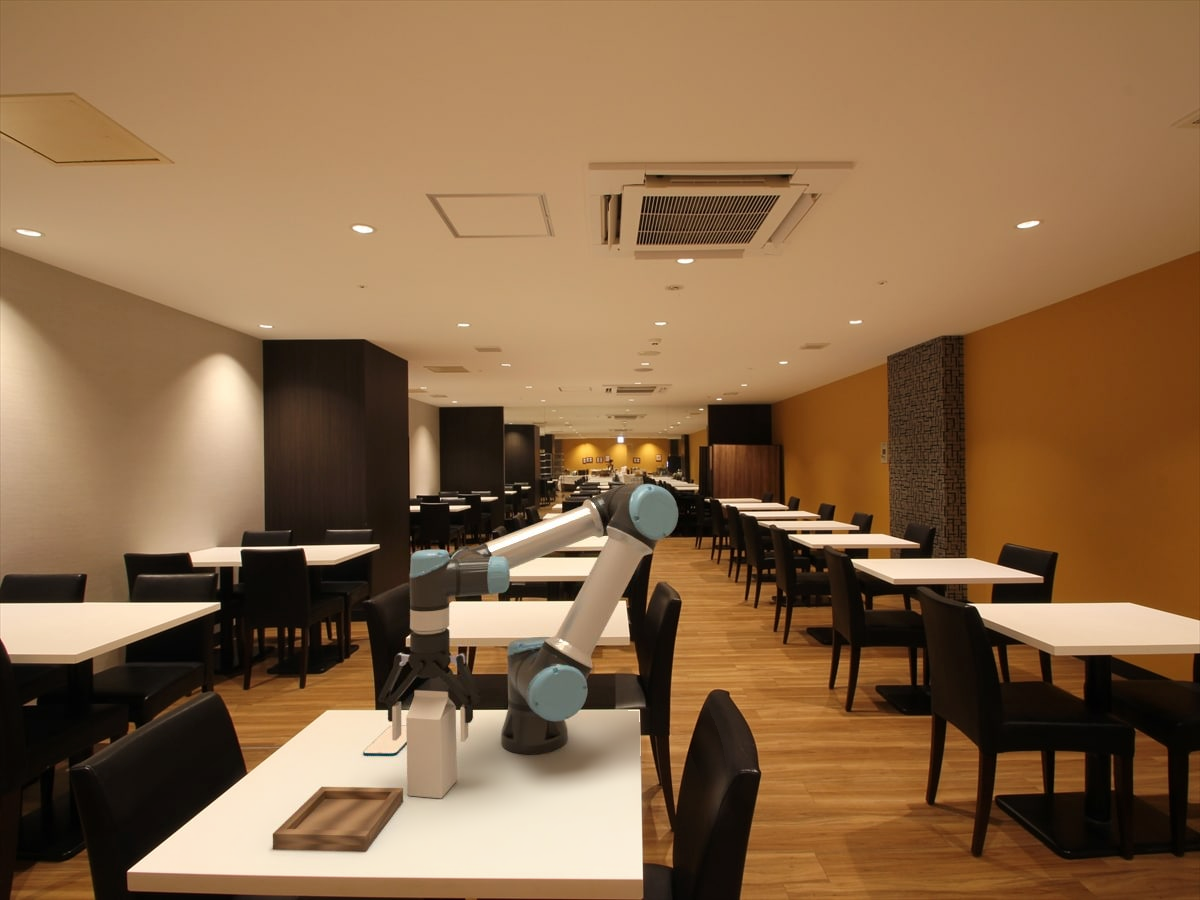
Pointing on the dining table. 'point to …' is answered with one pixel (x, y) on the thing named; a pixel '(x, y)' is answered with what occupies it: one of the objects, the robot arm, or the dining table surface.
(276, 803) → the dining table surface
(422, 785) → the milk carton
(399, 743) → the smartphone
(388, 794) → the holder
